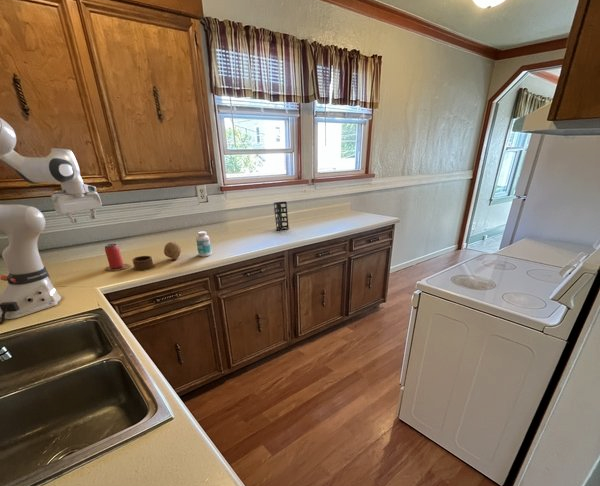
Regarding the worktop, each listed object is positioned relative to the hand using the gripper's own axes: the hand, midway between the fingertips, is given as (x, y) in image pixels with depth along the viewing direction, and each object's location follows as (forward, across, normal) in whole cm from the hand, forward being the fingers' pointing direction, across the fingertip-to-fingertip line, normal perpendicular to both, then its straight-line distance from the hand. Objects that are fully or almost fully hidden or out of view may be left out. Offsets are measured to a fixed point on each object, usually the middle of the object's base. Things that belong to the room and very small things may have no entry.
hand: (84, 220), depth 151 cm
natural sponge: (+27, +35, -15) cm, 47 cm away
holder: (+28, +128, -37) cm, 136 cm away
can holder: (+27, +18, -10) cm, 34 cm away
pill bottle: (+27, +49, -26) cm, 62 cm away
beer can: (+27, +12, +3) cm, 30 cm away
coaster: (+27, +12, +3) cm, 30 cm away
